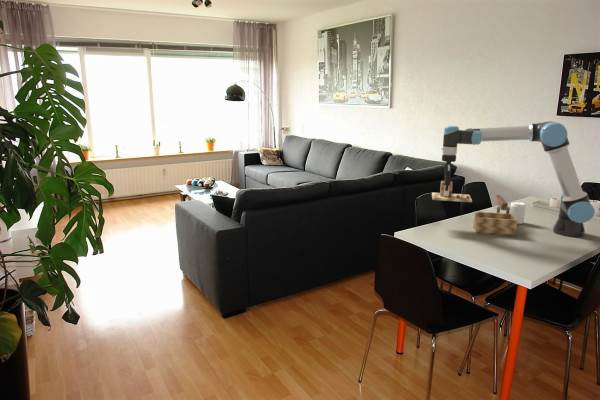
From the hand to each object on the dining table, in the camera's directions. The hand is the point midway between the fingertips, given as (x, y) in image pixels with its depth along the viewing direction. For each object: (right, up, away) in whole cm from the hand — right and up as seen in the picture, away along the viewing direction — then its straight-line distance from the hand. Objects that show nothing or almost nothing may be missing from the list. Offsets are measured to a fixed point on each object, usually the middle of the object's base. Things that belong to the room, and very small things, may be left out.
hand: (445, 195), depth 250 cm
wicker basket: (+27, -20, +1) cm, 33 cm away
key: (+37, -6, +13) cm, 40 cm away
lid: (+3, -2, 0) cm, 3 cm away
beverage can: (+47, -17, +15) cm, 53 cm away
